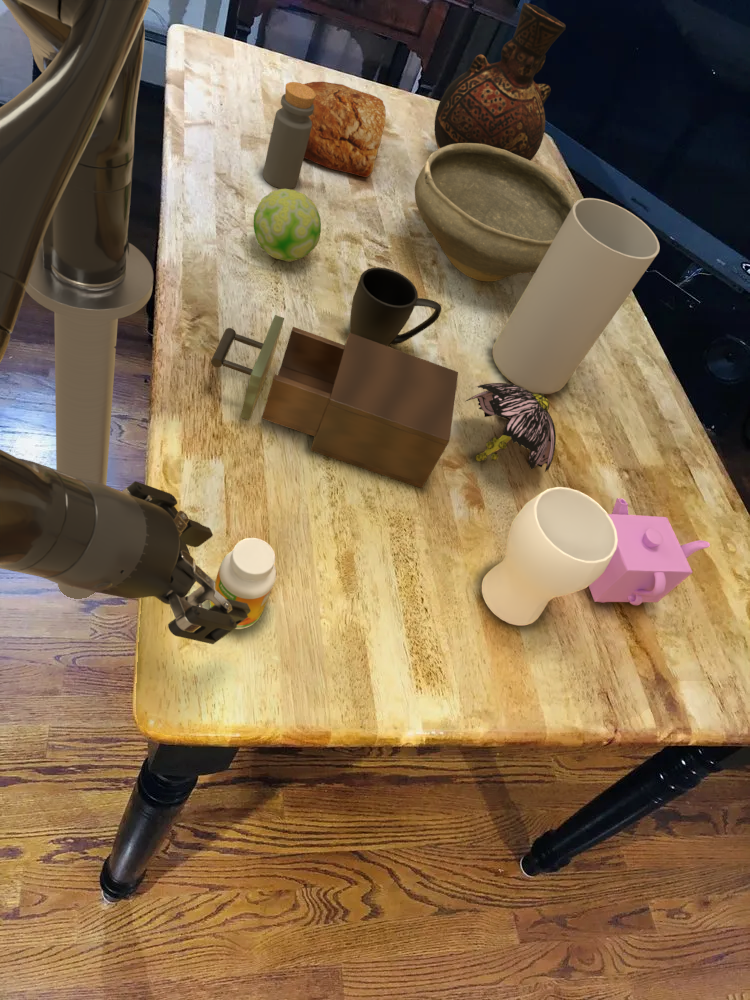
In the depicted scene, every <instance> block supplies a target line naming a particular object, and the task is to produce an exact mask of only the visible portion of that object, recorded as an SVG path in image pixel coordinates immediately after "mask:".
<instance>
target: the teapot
mask: <svg viewBox="0 0 750 1000" xmlns="http://www.w3.org/2000/svg"><path fill="white" fill-rule="evenodd" d="M607 514H608V515H609V517H610V518H611V519H612V521H613V524H614V526H615V528H616V532H617V538H618V542H617V548H616V551H615V553H614V555H613V557H612V558H611V560H610V562H609V564H608V566H607V568H606V569H605V571H604V573H603V574H602V575H601V576H599V577H598V578H597V579H596V580H595V581H594V582H593V583H592V584H591V585H589V586H588V588H589V590H590V593H591V596H592V599H593V602H594V603H595V602H598V603H629V604H630V605H632V606H640V605H642V603H658V602H660V601H661V600H662V599H663V598H665V596H667V595H668V594H669V593H670V592H671V591H673V590H674V589H675V588H676V587H677V586H679V585H680V584H681V583H682V582H683V581H684V580H686V579H687V578H688V577H689V576H690V575H693V569H692V568H691V566H690V563H689V561H688V558H689V557H690V556H692V554H694V553H696V552H698V551H700V550H703V549H707V548H710V546H711V543H710V542H709V541H706V540H699V539H698V540H693V541H690V542H687V543H684V544H680V542H679V540H678V537H677V535H676V534H675V531H674V529H673V527H672V525H671V523H670V521H669V518H668V516H657V515H655V516H654V515H638V514H629V503H628V502H627V501H626V499H624V498H623V497H622V498H619V497H617V498H616V500H615V503H614V506H613V509H612V512H611V513H607Z"/></svg>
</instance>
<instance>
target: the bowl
mask: <svg viewBox="0 0 750 1000" xmlns="http://www.w3.org/2000/svg"><path fill="white" fill-rule="evenodd" d="M414 199H415V204H416V207H417V210H418V212H419V215H420V216H421V218H422V221H423V223H424V225H425V226H426V227H427V229H428V231H429V232H430V233H431V235H432V236H433V237H434V239H435V241H436V243H437V244H438V246H439V247H440V249H441V251H442V252H443V253H444V255H445V256H446V257H447V259H448V260H449V262H450V263H451V264H452V266H454V268H456V269H457V270H458V271H459V272H460V273H462V274H463V275H464V276H466V277H469V278H472V279H474V280H476V281H480V282H497V281H500V280H504V279H506V278H509V277H513V276H517V275H521V274H531V273H535V272H536V270H537V268H538V266H539V265H540V263H541V261H542V259H543V258H544V256H545V254H546V252H547V251H548V249H549V247H550V246H551V244H552V242H553V240H554V239H555V237H556V235H557V233H558V232H559V230H560V228H561V226H562V225H563V223H564V221H565V219H566V218H567V216H568V214H569V212H570V211H571V209H572V207H573V205H574V204H575V201H574V199H573V197H572V195H571V194H570V192H569V191H568V190H567V189H566V187H565V186H564V185H563V183H562V182H561V181H560V180H559V179H558V178H557V177H556V176H554V174H552V173H551V172H550V171H548V170H547V169H545V168H543V167H542V166H541V165H538V164H537V163H536V162H534V161H532V160H531V161H530V160H527V159H525V158H523V157H520V156H518V155H516V154H513V153H511V152H509V151H506V150H504V149H499V148H495V147H492V146H489V145H485V144H477V143H457V144H451V145H447V146H445V147H442V148H440V149H438V148H437V149H436V150H434V151H433V152H432V153H431V154H430V155H429V156H428V157H427V159H426V161H425V164H424V166H422V169H421V170H420V172H419V174H418V175H417V178H416V180H415V184H414Z"/></svg>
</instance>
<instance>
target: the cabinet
mask: <svg viewBox="0 0 750 1000" xmlns="http://www.w3.org/2000/svg"><path fill="white" fill-rule="evenodd" d="M344 345H345V348H344V351H343V355H342V358H341V362H340V365H339V368H338V372H337V375H336V379H335V382H334V386H333V389H332V392H331V396H330V399H329V402H328V405H327V407H326V410H325V412H324V415H323V418H322V420H321V423H320V426H319V428H318V431H317V433H316V436H313V440H312V444H311V448H310V451H311V452H314V453H317V454H320V455H323V456H326V457H329V458H332V459H335V460H336V461H337V460H338V461H340V462H344V463H347V464H350V465H352V466H355V467H358V468H361V469H365V470H366V471H367V470H368V471H370V472H373V473H376V474H379V475H382V476H385V477H388V478H391V479H393V480H397V481H399V482H402V483H405V484H408V485H411V486H414V487H417V488H420V489H423V487H424V486H425V484H426V482H427V480H428V479H429V477H430V475H431V473H432V471H433V470H434V468H435V467H436V465H437V463H438V461H439V460H440V458H441V457H442V455H443V453H444V451H445V450H446V449H447V446H448V444H449V443H450V439H451V432H452V425H453V424H452V423H453V417H454V409H455V401H456V394H457V385H458V377H459V371H456V370H454V369H452V368H448V367H445V366H442V365H439V364H437V363H435V362H432V361H429V360H426V359H423V358H421V357H418V356H415V355H413V354H411V353H407V352H404V351H402V350H399V349H396V348H393V347H391V346H389V345H388V346H385V345H383V344H380V343H377V342H374V341H372V340H369V339H366V338H363V337H361V336H358V335H355V334H352V333H350V332H348V334H347V338H346V340H345V343H344Z"/></svg>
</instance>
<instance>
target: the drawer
mask: <svg viewBox="0 0 750 1000" xmlns="http://www.w3.org/2000/svg"><path fill="white" fill-rule="evenodd" d="M284 322H285V317H282V316H279V315H277V314H275V315H274V317H273V319H272V321H271V324H270V326H269V329H268V331H267V333H266V336H265V339H264V341H263V342H261V341H258V340H255V339H252V338H250V337H248V336H244V335H241V334H237V332H236V330H235V329H234V328H232V327H227V328H225V329H224V331H223V334H222V336H221V338H220V340H219V342H218V344H217V347H216V349H215V351H214V352H213V355H212V357H211V359H210V364H211V365H212V366H213V367H214V368H218V369H220V368H221V367H225V368H228V369H231V370H233V371H235V372H239V373H242V374H244V375H248V376H249V380H248V385H247V388H246V392H245V396H244V400H243V404H242V408H241V411H240V415H239V418H241V419H244V420H246V421H250V420H251V417H252V415H253V412H254V410H255V407H256V404H257V402H258V399H259V398H260V395H261V392H262V389H263V386H264V384H265V381H266V378H267V376H268V373H269V372H270V368H271V365H272V363H273V360H274V356H275V353H276V349H277V346H278V343H279V339H280V336H281V331H282V329H283V324H284ZM234 341H235V342H239V343H242V344H244V345H247V346H250V347H253V348H256V349H258V350H260V351H259V353H258V356H257V359H256V361H255V363H254V365H253V368H250V367H247V366H245V365H242V364H239V363H236V362H233V361H231V360H227V359H226V358H227V355H228V354H229V351H230V350H231V347H232V345H233V342H234ZM344 348H345V344H343V343H340V342H337V341H335V340H331V339H329V338H326V337H324V336H321V335H318V334H316V333H311V332H310V331H307V330H304V329H302V328H299V327H295V326H292V328H291V329H290V334H289V337H288V340H287V344H286V347H285V350H284V353H283V354H284V355H283V357H282V361H281V365H280V368H279V370H278V373H277V374H274V376H273V378H272V382H271V384H270V385H271V386H270V388H269V392H268V394H267V395H268V396H267V399H266V403H265V406H264V410H263V413H262V417H261V419H263V420H265V421H269V422H271V423H274V424H276V425H280V426H282V427H286V428H289V429H291V430H295V431H298V432H301V433H303V434H306V435H308V436H312V437H315V436H316V433H317V431H318V428H319V426H320V423H321V420H322V418H323V415H324V412H325V410H326V407H327V405H328V402H329V399H330V396H331V392H332V389H333V386H334V382H335V379H336V375H337V372H338V368H339V365H340V362H341V358H342V355H343V351H344Z"/></svg>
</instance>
